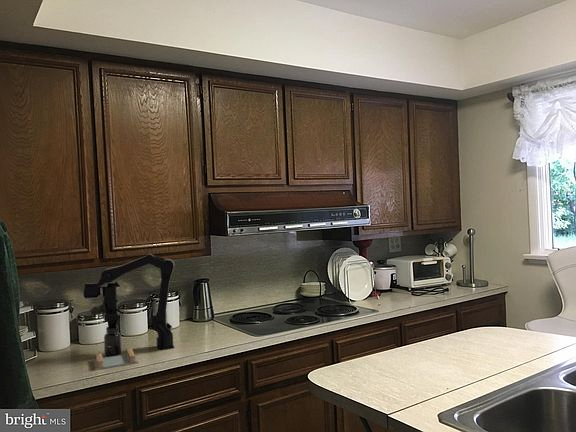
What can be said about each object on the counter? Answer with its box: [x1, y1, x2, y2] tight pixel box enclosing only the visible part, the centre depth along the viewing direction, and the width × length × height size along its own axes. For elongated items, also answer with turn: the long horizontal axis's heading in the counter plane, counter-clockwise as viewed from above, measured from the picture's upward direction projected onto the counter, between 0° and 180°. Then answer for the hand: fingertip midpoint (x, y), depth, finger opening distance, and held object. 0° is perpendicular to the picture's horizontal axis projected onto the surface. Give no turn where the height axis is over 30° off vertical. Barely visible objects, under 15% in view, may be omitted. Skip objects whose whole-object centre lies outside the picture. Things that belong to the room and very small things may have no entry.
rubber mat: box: [93, 353, 139, 371], centre depth 192 cm, size 16×13×1 cm
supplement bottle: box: [103, 325, 122, 358], centre depth 202 cm, size 7×7×12 cm
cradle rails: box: [95, 347, 136, 368], centre depth 192 cm, size 14×13×2 cm
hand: (111, 332), depth 207 cm, fingers closed
